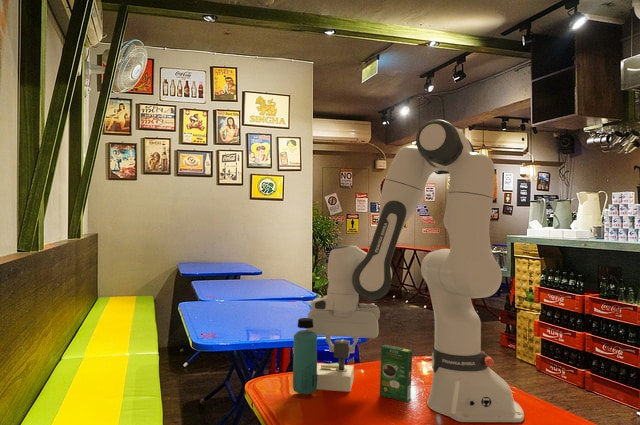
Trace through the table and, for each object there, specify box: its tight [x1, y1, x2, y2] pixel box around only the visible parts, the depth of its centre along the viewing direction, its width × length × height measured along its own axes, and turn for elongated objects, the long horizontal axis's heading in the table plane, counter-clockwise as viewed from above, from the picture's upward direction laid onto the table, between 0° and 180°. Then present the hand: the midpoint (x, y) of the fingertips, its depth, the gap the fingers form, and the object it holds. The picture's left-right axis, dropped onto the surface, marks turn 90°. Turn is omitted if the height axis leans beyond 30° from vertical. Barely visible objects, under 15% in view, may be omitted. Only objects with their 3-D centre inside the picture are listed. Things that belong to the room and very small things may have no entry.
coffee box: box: [379, 344, 413, 403], centre depth 124 cm, size 8×3×13 cm, turn 57°
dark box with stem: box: [321, 339, 351, 370], centre depth 133 cm, size 8×4×8 cm, turn 81°
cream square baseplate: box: [316, 362, 355, 393], centre depth 134 cm, size 12×11×4 cm
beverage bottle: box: [292, 317, 318, 395], centre depth 124 cm, size 6×7×20 cm
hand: (341, 351), depth 133 cm, fingers closed on dark box with stem, 4 cm apart
